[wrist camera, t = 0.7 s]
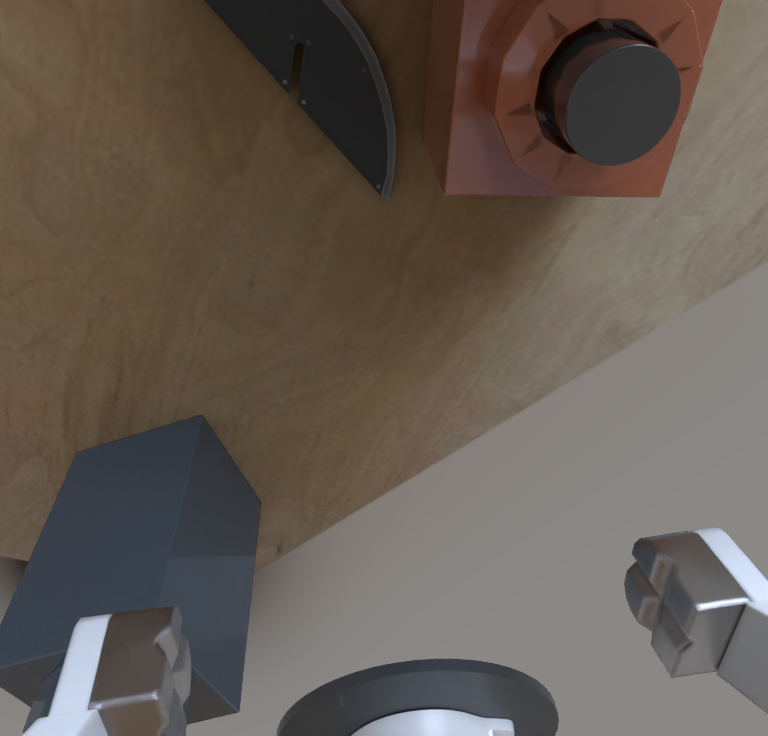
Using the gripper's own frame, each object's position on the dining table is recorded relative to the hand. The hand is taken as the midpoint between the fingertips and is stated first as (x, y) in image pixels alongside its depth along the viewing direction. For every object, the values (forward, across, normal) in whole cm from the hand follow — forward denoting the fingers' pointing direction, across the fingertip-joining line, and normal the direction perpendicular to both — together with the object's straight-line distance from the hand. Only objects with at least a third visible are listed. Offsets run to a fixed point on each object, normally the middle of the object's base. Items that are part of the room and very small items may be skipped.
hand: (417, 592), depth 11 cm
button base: (+20, +9, +7) cm, 23 cm away
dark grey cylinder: (+12, +8, +7) cm, 16 cm away
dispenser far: (+24, -10, -16) cm, 31 cm away
